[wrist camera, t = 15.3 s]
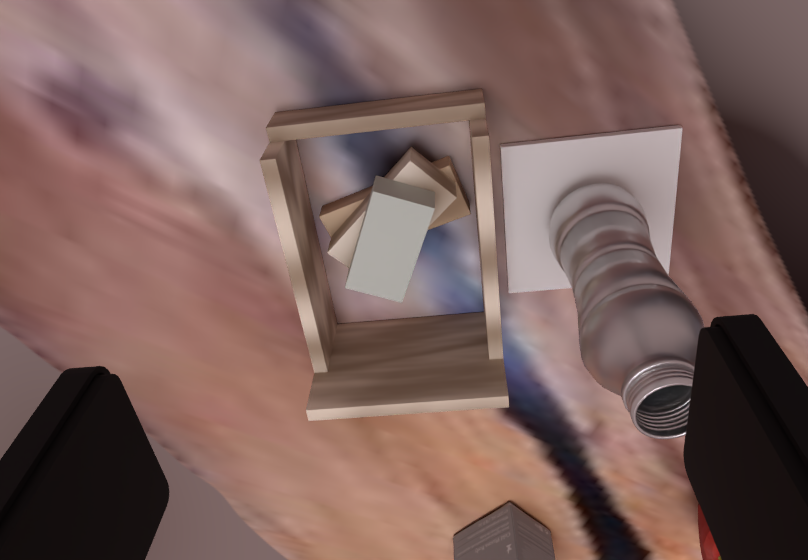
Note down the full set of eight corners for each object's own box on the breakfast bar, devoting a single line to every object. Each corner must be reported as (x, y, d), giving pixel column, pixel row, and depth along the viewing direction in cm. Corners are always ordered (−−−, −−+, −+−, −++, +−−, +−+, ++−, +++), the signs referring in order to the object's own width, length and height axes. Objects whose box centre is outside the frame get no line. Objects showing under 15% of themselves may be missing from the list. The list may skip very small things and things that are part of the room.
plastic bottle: (656, 206, 48) (777, 401, 31) (588, 270, 51) (663, 479, 34) (591, 154, 46) (682, 332, 29) (524, 224, 49) (571, 421, 32)
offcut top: (348, 269, 48) (344, 288, 46) (375, 175, 44) (372, 191, 42) (403, 283, 48) (401, 302, 46) (434, 191, 44) (434, 208, 42)
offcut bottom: (323, 201, 50) (319, 216, 48) (448, 151, 48) (449, 165, 46) (347, 245, 52) (344, 261, 50) (469, 199, 50) (470, 214, 48)
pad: (500, 144, 46) (500, 147, 46) (679, 124, 45) (682, 128, 45) (508, 288, 53) (508, 293, 52) (665, 275, 52) (667, 279, 51)
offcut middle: (331, 236, 49) (327, 252, 47) (411, 146, 45) (410, 160, 43) (374, 266, 50) (372, 284, 48) (455, 182, 46) (456, 197, 44)
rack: (275, 112, 46) (239, 171, 37) (481, 88, 44) (493, 144, 36) (327, 334, 56) (308, 420, 48) (497, 320, 55) (508, 407, 46)
